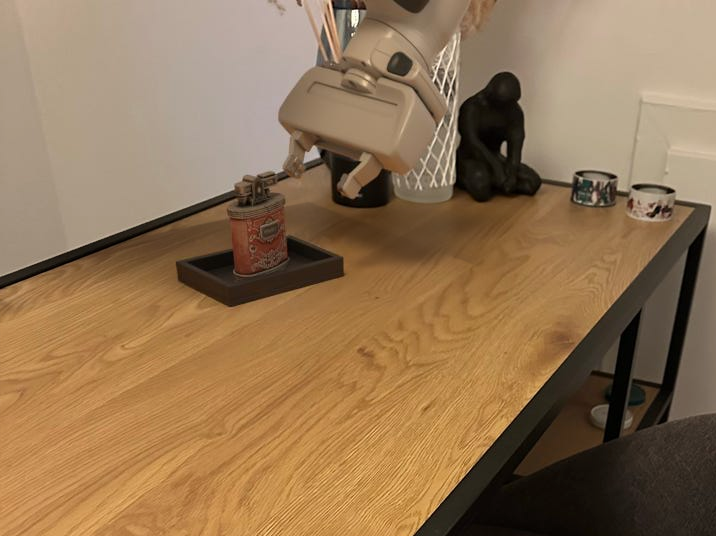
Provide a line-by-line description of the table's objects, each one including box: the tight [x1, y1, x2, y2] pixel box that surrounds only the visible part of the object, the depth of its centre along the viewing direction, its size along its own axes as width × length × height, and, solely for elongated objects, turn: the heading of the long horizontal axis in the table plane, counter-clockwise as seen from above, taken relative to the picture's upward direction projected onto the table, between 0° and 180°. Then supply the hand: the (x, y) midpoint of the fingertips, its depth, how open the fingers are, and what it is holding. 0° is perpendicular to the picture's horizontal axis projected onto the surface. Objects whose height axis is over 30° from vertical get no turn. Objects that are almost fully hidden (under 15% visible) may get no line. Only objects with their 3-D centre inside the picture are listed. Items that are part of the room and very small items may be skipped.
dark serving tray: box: [175, 234, 345, 308], centre depth 104 cm, size 10×16×2 cm, turn 137°
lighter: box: [226, 170, 290, 282], centre depth 101 cm, size 8×3×10 cm, turn 152°
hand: (316, 184), depth 104 cm, fingers open, 8 cm apart
